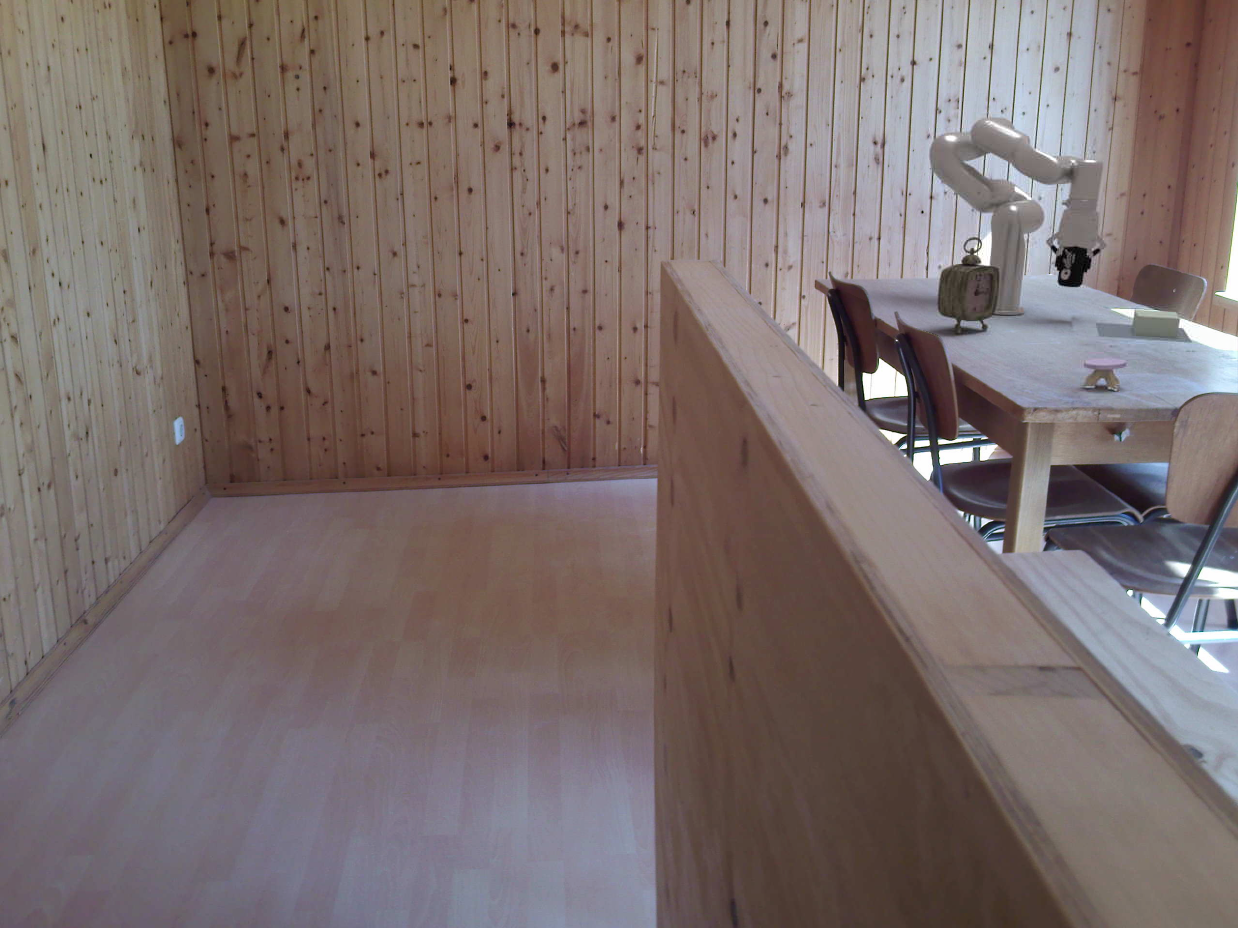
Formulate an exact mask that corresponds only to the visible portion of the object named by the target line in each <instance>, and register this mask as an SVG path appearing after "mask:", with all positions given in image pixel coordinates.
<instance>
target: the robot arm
mask: <svg viewBox="0 0 1238 928" xmlns="http://www.w3.org/2000/svg"><path fill="white" fill-rule="evenodd" d="M988 154H992V155H994V156H995V157H998V158H1000V159H1001V160H1004V161H1006V162H1008V163H1010V164H1011V166H1012V167H1013V168H1014V169H1015V170H1016V171H1017V172H1018V173H1020V174H1022V175H1024V176H1026V177H1028V178H1029V179H1031V180H1033V181H1035V182H1037V183H1040V184H1042V185H1047V186H1051V185H1052V186H1054V185H1065V184H1066V185H1067V184H1070V186H1069V193H1068V198H1067V199H1062V200H1061V201H1062V204H1061V205H1062V206H1064V207H1065V206H1066V209H1065V208H1064V210H1063V211H1062V215H1061V219H1060V222H1059V225H1058V226H1059V227H1058V231H1057V232H1055V233H1054V234H1052V235H1050V237H1049V238H1047V239H1045V243H1046V245H1048V247H1049V248H1050V250H1052V252H1053V254H1054V255H1055V262H1054V268H1056V271H1058V272H1059V270H1060V265H1061V259H1062V256H1061V255H1062V251H1063V250H1064V247H1073V246H1078V247H1081V248H1084V249H1087V258H1086V264H1085V270H1084V274H1085V273H1086V274H1088V270H1089V271H1091V267H1092V260H1093V258H1095V257H1096V256H1097V255H1098V254H1100V253H1101V252H1102V251H1103V250H1104V249H1105V248H1107V247H1108V244H1107V243H1106V242H1105V240H1104V239H1103V238H1102V237H1100V235H1099V226H1100V212H1099V210H1098V211H1097V207H1098V204H1099V203H1098V202H1099V196H1100V189H1101V183H1102V178H1103V177H1102V176H1103V171H1104V162H1103V161H1102V160H1101V159H1097V158H1087V157H1085V158H1079V157H1075V156H1070V155H1055V156H1054V155H1053V156H1051V155H1049V154H1046V153H1044V152H1042V151H1040V150H1039V149H1036V148H1035V147H1033V146H1032V145H1031V138H1030V137H1029V136H1028V135H1027V134H1026V133H1024V132H1021V131H1019V130H1018V129H1015V126H1014V124H1013V122H1012V121H1010V120H1009V119H1007V118H1005V117H983V118H981V119H978V120H977V121H975V123H974V124H972V126H971V129H970V130H969V131H963V132H962V131H958V132H957V131H956V132H946V133H942V134H940V135H938V136H937V137H936V138H934V139H933V141H932V143H931V145H930V147H929V155H928V157H929V164H930V166H931V169H932V171H933V173H934V174H935V176H936V177H937V178H938V179H939V180H940V181H941V182H942V183H944V185H946V186H947V187H948V188H950V189H951V190H952V191H953V192H954V193H956V195H958V196H959V198H962V199H963V201H965V203H967V204H968V205H970V206H971V208H973V209H974V210H975V211H976V212H978V213H981V214H992V216H991V219H990V232H991V246H990V248H991V249H990V259H989V266H993V267H996V268H998V269H999V293H998V299H997V305H996V309H995V312H994V315H997V316H998V315H1001V316H1005V315H1006V316H1017V315H1023V314H1024V313H1025V308H1024V307H1022V306H1020V305H1021V295H1022V294H1021V293H1022V287H1023V278H1024V269H1025V258H1026V240H1025V235H1029V234H1032V233H1034V232H1037V231H1038V230H1039V229H1041V227H1042V226H1043V224H1044V222H1045V211H1044V208H1043V207H1042V206H1041V205H1040V203H1039V202H1038V201H1036V200H1035V199H1034V198H1033V197H1032V196H1030V194H1028V193H1027V192H1025V191H1024V190H1023V189H1021V188H1020V187H1019V186H1018V185H1017V184H1016V183H1014V182H1012V181H1010V180H1007V179H1004V178H1003V179H1000V178H998V179H991V178H988V177H986V176H985V175H983V174H982V173H981V172H979V170H977V169H976V168H975V167H974V166H972V165H970V164H969V163H966V162H970V161H972V160H977V159H979V158H981V157H983V156H986V155H988ZM1054 241H1056V243H1057V245H1058V247H1056V245H1055V244H1054V243H1053V242H1054ZM1097 243H1098V244H1099V246H1098V247H1096V246H1097ZM1075 244H1078V245H1075ZM1095 247H1096V248H1095ZM1093 248H1094V249H1093ZM1092 249H1093V250H1092Z"/></svg>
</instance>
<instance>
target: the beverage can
mask: <svg viewBox="0 0 1238 928" xmlns="http://www.w3.org/2000/svg"><path fill="white" fill-rule="evenodd" d="M1075 245H1078V244H1075ZM1087 255H1088V252H1087V249H1084V248H1081V247H1078V246H1073V247H1064V250H1063V251H1062V253H1061V256H1062V259H1061V265H1060V270H1059V271H1058V274H1057V275H1058V276H1057V284H1058V285H1059V286H1061V287H1066V288H1080V287H1081V286H1082V285H1083V282H1084V275H1085V272H1084V270H1085V264H1086V258H1087Z"/></svg>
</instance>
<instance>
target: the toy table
mask: <svg viewBox="0 0 1238 928" xmlns="http://www.w3.org/2000/svg"><path fill="white" fill-rule="evenodd" d="M1126 366H1127V360H1126V359H1121V358H1113V357H1112V358H1111V357H1106V358H1105V357H1104V358H1102V357H1101V358H1092V359H1088V360H1087V359H1086V360H1085V361H1084V363H1083V367H1084V368H1085V369H1089V370H1093V371H1092V372H1091V373H1090V374H1088V376H1087V377H1086V378H1085V383H1084V384H1083V387H1084V386H1095V385H1096V386H1097V384H1098V382H1099V381H1101V379H1104V380H1105V382H1106V388H1107V387H1111V388H1113V389H1118V390H1119V386H1117V384H1119V385H1120V380H1119V379H1118V377H1117V376H1116V375H1115V373H1114V370H1117V369H1123V368H1125V367H1126Z"/></svg>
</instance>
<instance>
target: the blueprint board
mask: <svg viewBox="0 0 1238 928" xmlns="http://www.w3.org/2000/svg"><path fill="white" fill-rule="evenodd" d="M1132 326H1133V324H1123V323H1121V324H1120V323H1106V322H1095V327H1096V330H1097V333H1098V337H1101V338H1103V337H1105V338H1118V339H1119V338H1121V339H1134V340H1135V339H1136V340H1151V341H1161V342H1162V341H1165V342H1179V343H1181V342H1182V343H1193V342H1192V340H1191V338H1190V337H1189V335H1188V334H1187V332H1186V331H1185V329H1184V327H1179V328H1178V335H1177V338H1173V337H1157V336H1142V335H1135V334H1134V331H1133V329H1132Z"/></svg>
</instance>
